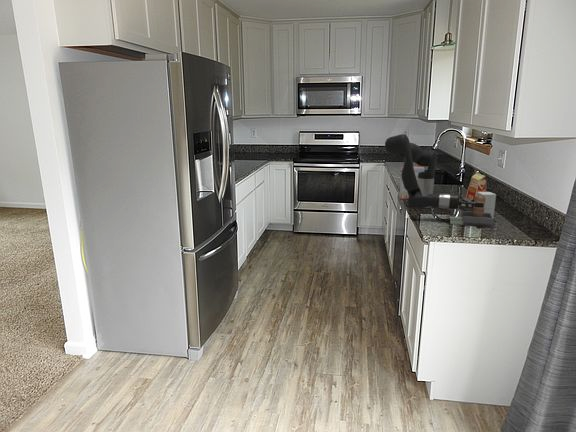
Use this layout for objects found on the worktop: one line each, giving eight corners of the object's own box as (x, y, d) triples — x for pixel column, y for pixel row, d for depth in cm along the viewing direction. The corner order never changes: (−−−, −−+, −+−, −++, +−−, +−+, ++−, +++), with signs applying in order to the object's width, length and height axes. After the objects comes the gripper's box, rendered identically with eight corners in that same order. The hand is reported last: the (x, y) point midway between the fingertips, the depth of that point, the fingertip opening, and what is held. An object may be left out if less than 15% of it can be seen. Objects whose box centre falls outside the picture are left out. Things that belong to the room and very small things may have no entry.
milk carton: (464, 203, 255) (467, 171, 250) (475, 202, 258) (479, 170, 253) (475, 207, 247) (479, 173, 242) (487, 205, 250) (491, 173, 245)
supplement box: (486, 213, 231) (489, 191, 228) (493, 217, 224) (496, 194, 220) (474, 213, 231) (476, 191, 227) (480, 217, 223) (483, 194, 220)
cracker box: (420, 198, 271) (423, 166, 266) (422, 200, 265) (425, 167, 260) (398, 197, 272) (400, 166, 267) (400, 199, 267) (402, 167, 261)
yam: (471, 218, 214) (474, 193, 210) (482, 219, 212) (485, 194, 209) (472, 221, 209) (475, 195, 206) (482, 222, 208) (486, 196, 204)
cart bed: (449, 218, 221) (450, 210, 220) (490, 221, 215) (491, 213, 213) (450, 224, 210) (451, 215, 209) (493, 227, 204) (494, 218, 202)
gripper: (449, 196, 206) (485, 199, 201) (448, 191, 219) (482, 193, 214) (448, 211, 208) (483, 214, 203) (447, 205, 221) (480, 207, 216)
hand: (482, 203), depth 208 cm, fingers open, 8 cm apart
